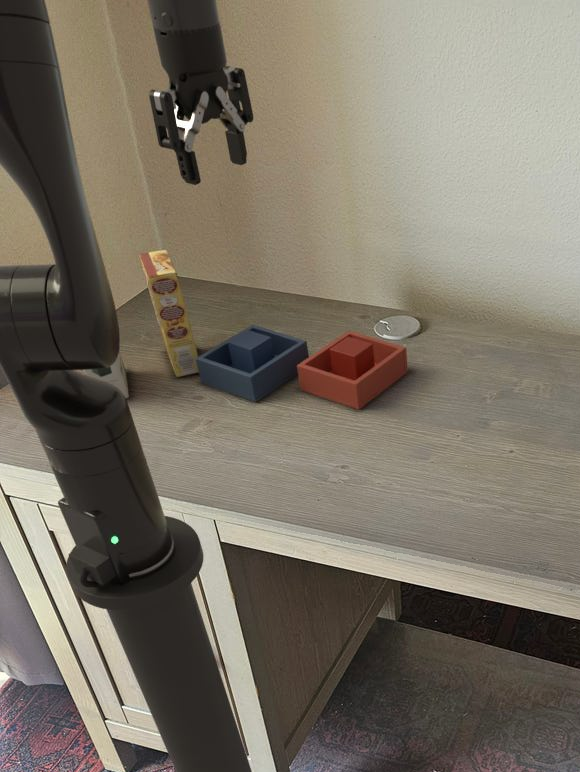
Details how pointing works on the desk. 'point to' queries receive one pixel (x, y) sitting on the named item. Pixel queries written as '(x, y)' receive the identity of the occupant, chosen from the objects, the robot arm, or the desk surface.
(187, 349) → the candy box
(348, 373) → the red block
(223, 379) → the blue bin
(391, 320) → the desk surface
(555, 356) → the desk surface
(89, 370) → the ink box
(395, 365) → the red bin
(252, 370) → the blue block
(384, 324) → the desk surface
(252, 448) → the desk surface
